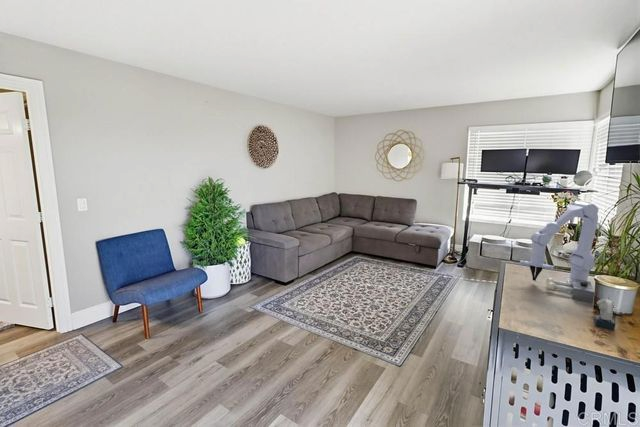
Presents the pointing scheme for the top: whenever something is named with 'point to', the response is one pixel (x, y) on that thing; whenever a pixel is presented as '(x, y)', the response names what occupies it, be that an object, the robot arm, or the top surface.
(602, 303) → the grey bust statue
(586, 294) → the mount
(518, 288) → the top surface
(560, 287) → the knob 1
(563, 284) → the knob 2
